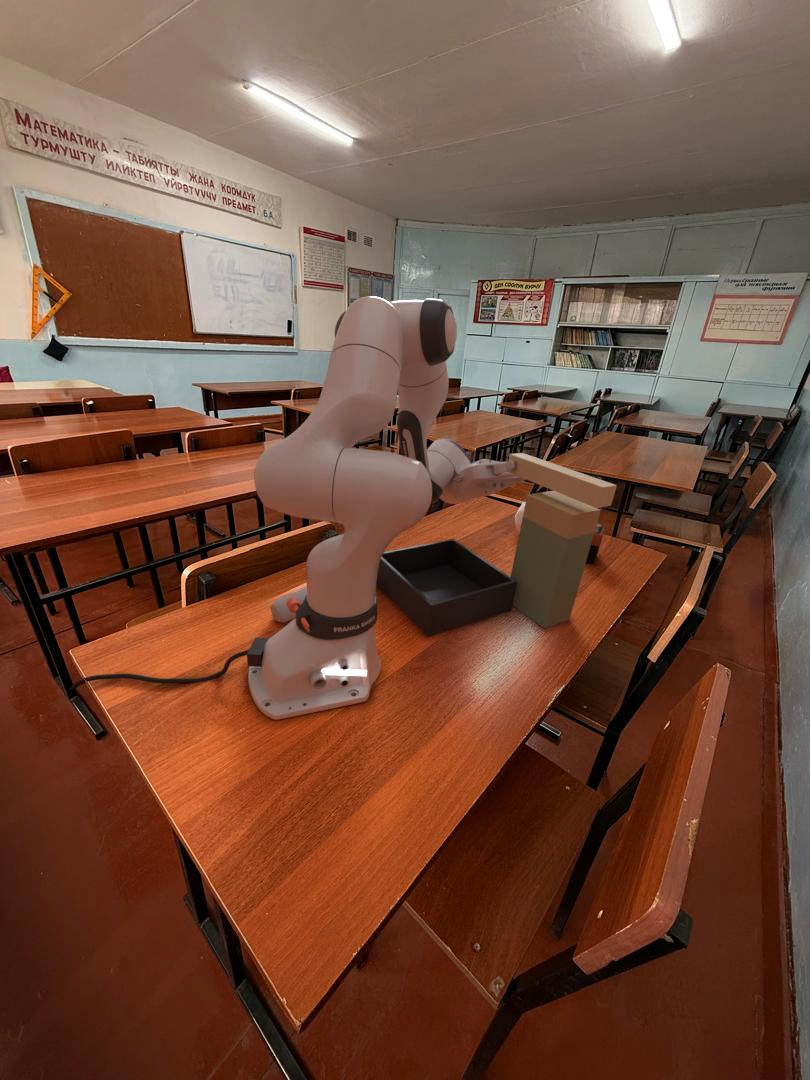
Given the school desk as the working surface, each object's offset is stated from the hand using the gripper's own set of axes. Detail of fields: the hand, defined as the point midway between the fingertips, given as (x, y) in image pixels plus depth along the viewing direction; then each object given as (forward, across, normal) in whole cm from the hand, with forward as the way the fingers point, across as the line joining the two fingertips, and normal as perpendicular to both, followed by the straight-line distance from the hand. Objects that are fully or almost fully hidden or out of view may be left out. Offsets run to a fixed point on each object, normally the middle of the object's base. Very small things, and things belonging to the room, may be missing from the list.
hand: (523, 463), depth 95 cm
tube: (-24, -42, +22) cm, 53 cm away
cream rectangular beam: (+7, 0, +7) cm, 10 cm away
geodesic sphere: (-29, +28, +19) cm, 45 cm away
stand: (-5, 0, +33) cm, 33 cm away
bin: (-17, -17, +26) cm, 35 cm away
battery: (-16, +34, +26) cm, 46 cm away
